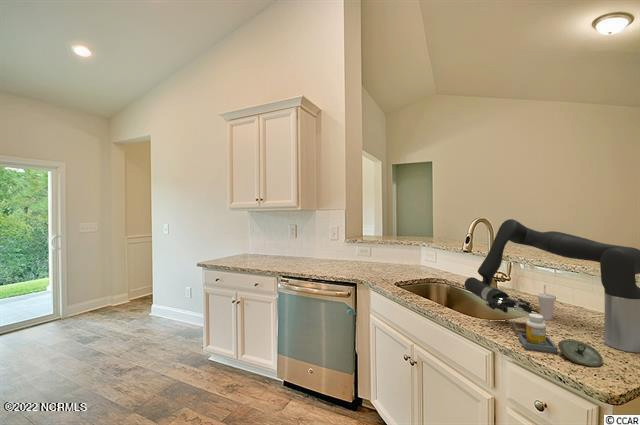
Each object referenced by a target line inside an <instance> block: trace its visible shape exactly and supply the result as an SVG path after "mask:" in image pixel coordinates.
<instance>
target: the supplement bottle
mask: <svg viewBox="0 0 640 425" xmlns="http://www.w3.org/2000/svg"><path fill="white" fill-rule="evenodd" d="M525 323H526V329H525V330H526V340H527V343H529V344H537V345H544V346H546V337H547V325H546V324H545V322H544V319H543V316H541V314H537V313H528V320H527V321H526V322H525Z"/></svg>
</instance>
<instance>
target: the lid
mask: <svg viewBox="0 0 640 425" xmlns="http://www.w3.org/2000/svg"><path fill="white" fill-rule="evenodd" d="M557 348H558V349H559V351H560V353H561V354H562V355H563V356H564V357H566V358H567V359H568V360H570V361H571V362H573V363H575V364H577V365H580V366H583V367H584V366H585V367H590V368H591V367H595V368H596V367H599V366H602V364H603V360H604V359H603V357H602V355H601V353H600V352H599V351H598V350H597V349H595V348H594V347H592V346H591V345H589V344H587V343H584V342H581V341H579V340H574V339H570V338H569V339H561V340H559V342H558V345H557Z"/></svg>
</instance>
